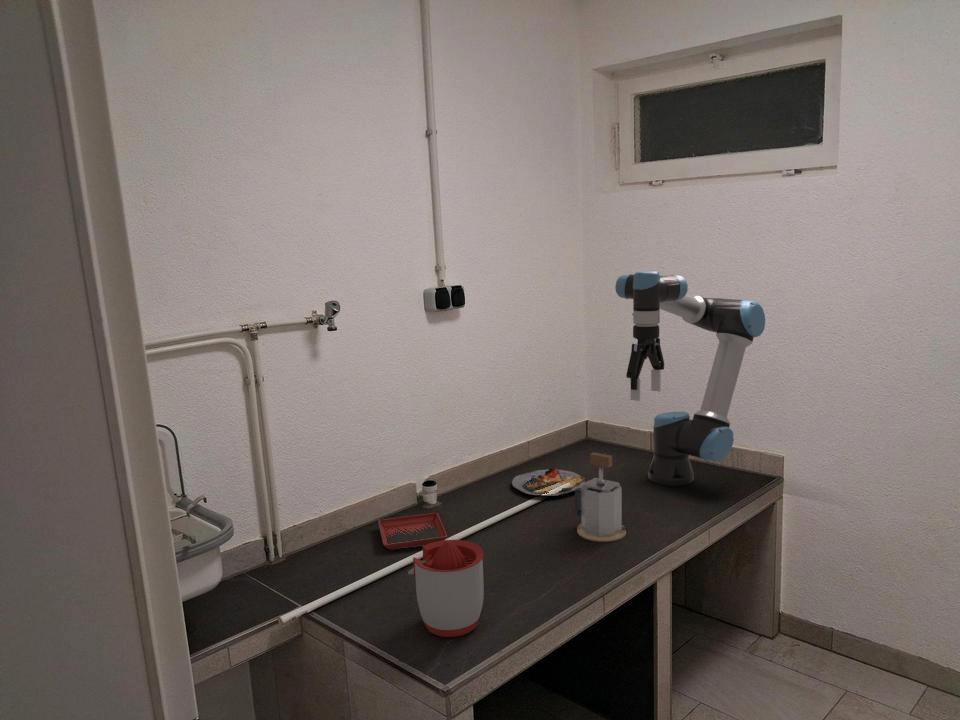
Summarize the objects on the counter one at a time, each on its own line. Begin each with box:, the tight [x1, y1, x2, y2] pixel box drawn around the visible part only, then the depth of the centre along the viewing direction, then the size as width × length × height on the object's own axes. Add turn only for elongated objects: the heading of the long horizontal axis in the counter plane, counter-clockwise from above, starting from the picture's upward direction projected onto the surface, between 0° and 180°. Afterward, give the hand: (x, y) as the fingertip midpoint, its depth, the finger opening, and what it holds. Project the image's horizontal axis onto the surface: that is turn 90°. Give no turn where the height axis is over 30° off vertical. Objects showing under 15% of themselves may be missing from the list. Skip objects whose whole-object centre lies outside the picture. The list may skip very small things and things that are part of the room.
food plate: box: [511, 467, 587, 497], centre depth 248 cm, size 25×23×4 cm
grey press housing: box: [574, 477, 627, 543], centre depth 210 cm, size 14×15×15 cm
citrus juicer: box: [407, 539, 485, 638], centre depth 163 cm, size 16×17×20 cm
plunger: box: [589, 452, 613, 492], centre depth 208 cm, size 7×7×19 cm
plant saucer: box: [378, 512, 448, 550], centre depth 212 cm, size 18×18×3 cm
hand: (645, 395), depth 217 cm, fingers open, 13 cm apart
